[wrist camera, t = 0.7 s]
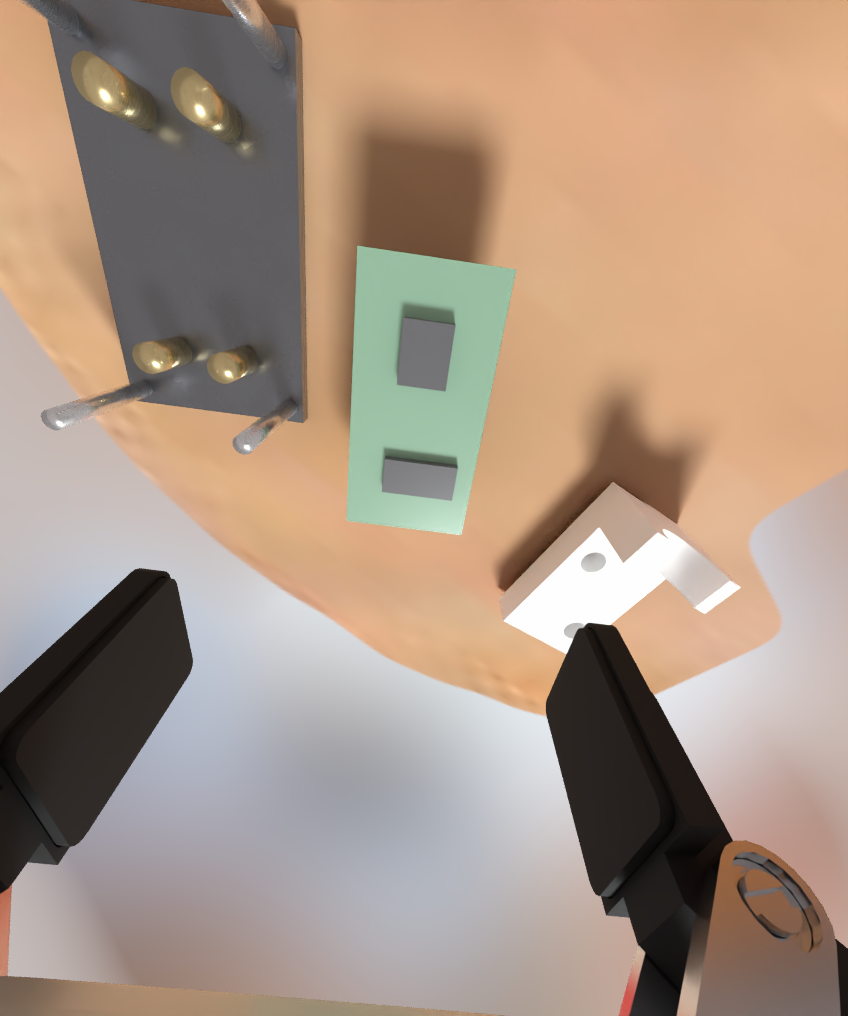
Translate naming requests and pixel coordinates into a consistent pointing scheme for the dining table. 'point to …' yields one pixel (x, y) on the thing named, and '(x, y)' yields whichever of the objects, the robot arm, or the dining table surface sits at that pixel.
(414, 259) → the board
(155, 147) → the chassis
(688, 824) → the robot arm
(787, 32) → the dining table surface
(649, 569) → the bracket
